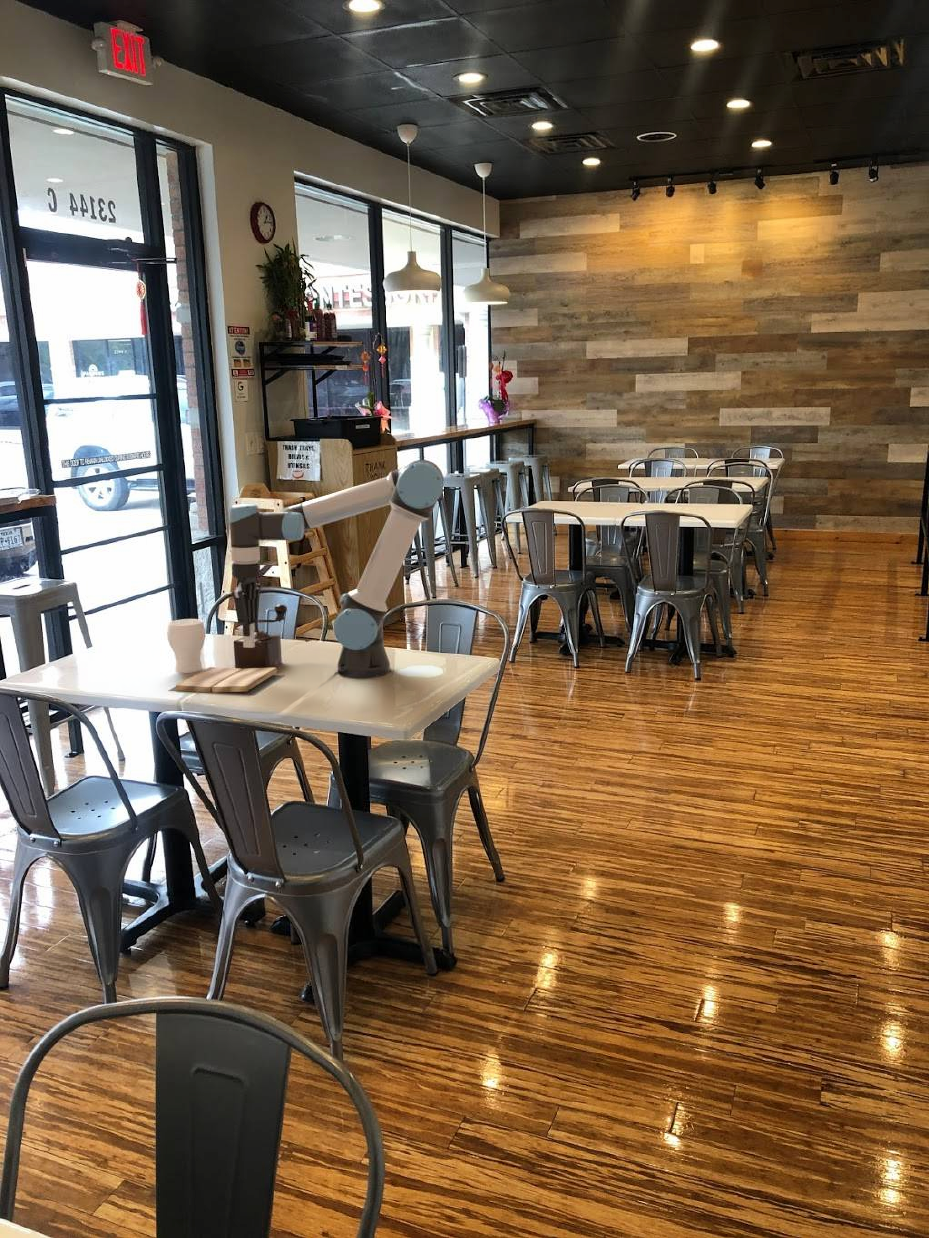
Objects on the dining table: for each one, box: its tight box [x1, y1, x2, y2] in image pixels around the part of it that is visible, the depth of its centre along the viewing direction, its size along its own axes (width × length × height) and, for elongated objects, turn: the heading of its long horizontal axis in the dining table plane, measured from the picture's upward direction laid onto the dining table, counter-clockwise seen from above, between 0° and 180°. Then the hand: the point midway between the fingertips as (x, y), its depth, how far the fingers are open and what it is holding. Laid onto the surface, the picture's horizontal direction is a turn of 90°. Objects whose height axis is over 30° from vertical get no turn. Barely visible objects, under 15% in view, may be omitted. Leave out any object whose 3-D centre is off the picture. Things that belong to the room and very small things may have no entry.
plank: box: [212, 667, 278, 692], centre depth 288 cm, size 10×20×2 cm, turn 167°
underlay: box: [167, 674, 286, 696], centre depth 289 cm, size 25×21×1 cm
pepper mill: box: [233, 603, 288, 669], centre depth 308 cm, size 16×11×18 cm
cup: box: [166, 618, 206, 674], centre depth 303 cm, size 11×11×15 cm
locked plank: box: [175, 666, 242, 693], centre depth 290 cm, size 10×20×2 cm, turn 167°
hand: (249, 646), depth 288 cm, fingers closed
